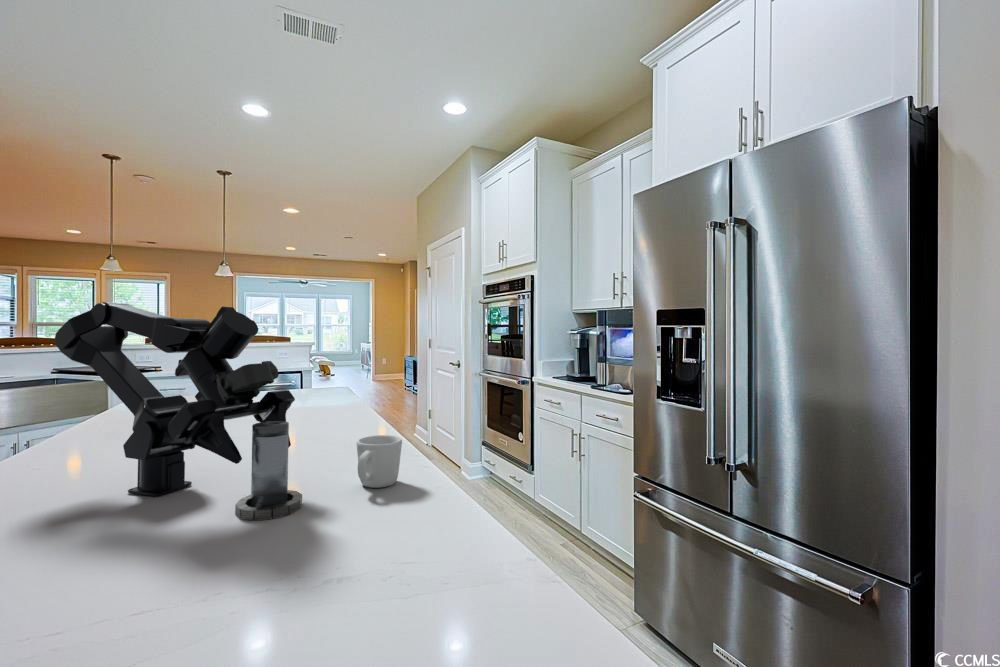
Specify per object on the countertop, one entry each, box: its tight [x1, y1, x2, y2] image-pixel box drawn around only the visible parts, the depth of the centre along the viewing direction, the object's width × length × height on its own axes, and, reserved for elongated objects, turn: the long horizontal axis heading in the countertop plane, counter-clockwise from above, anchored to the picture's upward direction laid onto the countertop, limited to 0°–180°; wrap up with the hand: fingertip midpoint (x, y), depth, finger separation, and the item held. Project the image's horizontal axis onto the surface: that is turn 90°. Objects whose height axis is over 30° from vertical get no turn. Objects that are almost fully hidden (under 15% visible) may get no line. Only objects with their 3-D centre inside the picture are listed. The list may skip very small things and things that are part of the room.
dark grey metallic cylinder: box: [250, 421, 290, 508], centre depth 70 cm, size 5×5×13 cm
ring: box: [234, 489, 303, 522], centre depth 70 cm, size 9×9×1 cm
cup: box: [356, 434, 403, 489], centre depth 81 cm, size 11×8×8 cm
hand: (265, 454), depth 70 cm, fingers open, 9 cm apart
